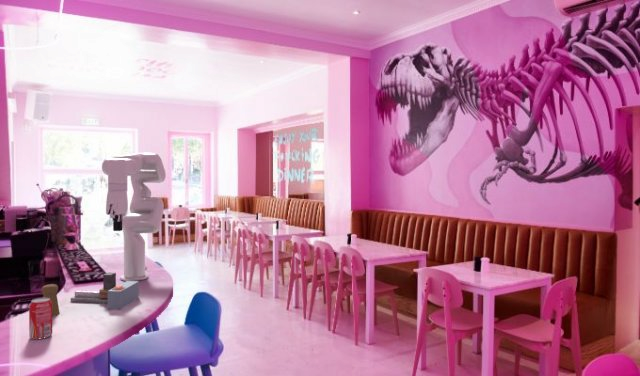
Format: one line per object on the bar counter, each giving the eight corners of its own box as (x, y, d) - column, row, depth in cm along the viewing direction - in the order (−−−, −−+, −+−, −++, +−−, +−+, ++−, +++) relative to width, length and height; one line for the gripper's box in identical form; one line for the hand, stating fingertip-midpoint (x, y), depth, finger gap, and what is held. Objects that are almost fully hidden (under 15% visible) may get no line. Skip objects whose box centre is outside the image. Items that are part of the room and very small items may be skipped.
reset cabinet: (127, 297, 184) (127, 280, 183) (138, 298, 183) (138, 281, 183) (107, 309, 169) (107, 290, 168) (120, 309, 168) (120, 291, 168)
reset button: (116, 300, 174) (117, 285, 173) (124, 300, 173) (124, 285, 173) (112, 302, 171) (112, 287, 170) (120, 303, 170) (120, 287, 170)
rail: (79, 297, 182) (79, 289, 182) (124, 299, 181) (124, 290, 181) (70, 301, 176) (70, 293, 176) (116, 303, 175) (116, 295, 175)
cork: (50, 318, 158) (50, 287, 157) (36, 316, 159) (36, 286, 158) (63, 312, 164) (63, 283, 163) (49, 311, 165) (49, 282, 164)
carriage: (105, 294, 181) (105, 272, 180) (119, 295, 180) (119, 272, 180) (99, 298, 176) (99, 274, 176) (114, 298, 176) (113, 275, 176)
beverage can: (36, 333, 144) (35, 296, 143) (56, 333, 144) (56, 296, 144) (25, 340, 137) (24, 302, 137) (46, 340, 138) (45, 302, 137)
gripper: (118, 186, 195) (118, 228, 196) (99, 188, 180) (99, 233, 181) (134, 187, 195) (134, 228, 196) (117, 188, 180) (117, 233, 181)
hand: (117, 230), depth 188 cm, fingers closed
